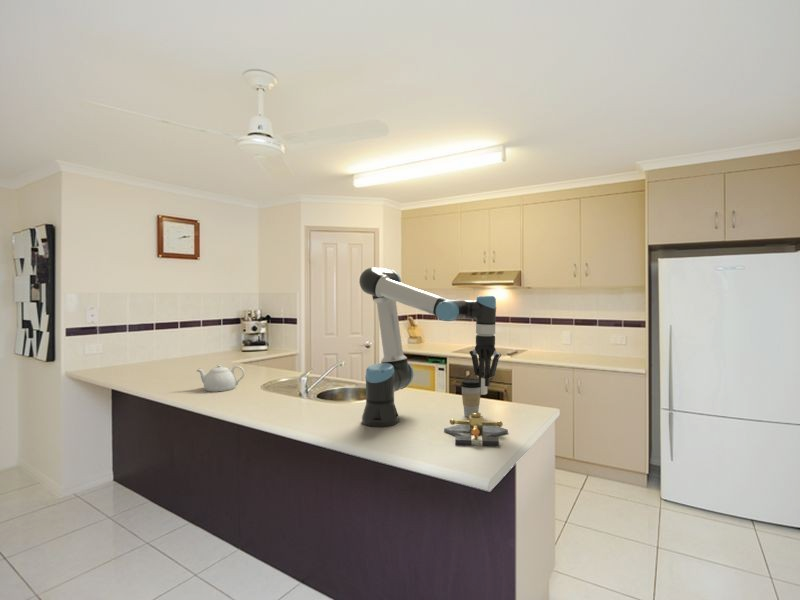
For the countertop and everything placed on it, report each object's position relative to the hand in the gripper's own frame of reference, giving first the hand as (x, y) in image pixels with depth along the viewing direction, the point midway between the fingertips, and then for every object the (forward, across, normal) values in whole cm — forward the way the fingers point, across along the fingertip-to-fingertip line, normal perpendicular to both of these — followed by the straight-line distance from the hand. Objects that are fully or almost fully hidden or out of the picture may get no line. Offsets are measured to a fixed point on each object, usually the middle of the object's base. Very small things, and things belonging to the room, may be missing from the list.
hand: (484, 393), depth 177 cm
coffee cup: (+14, +12, -11) cm, 21 cm away
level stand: (+13, -4, +12) cm, 18 cm away
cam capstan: (+12, -2, +11) cm, 16 cm away
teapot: (+18, +150, +26) cm, 153 cm away
